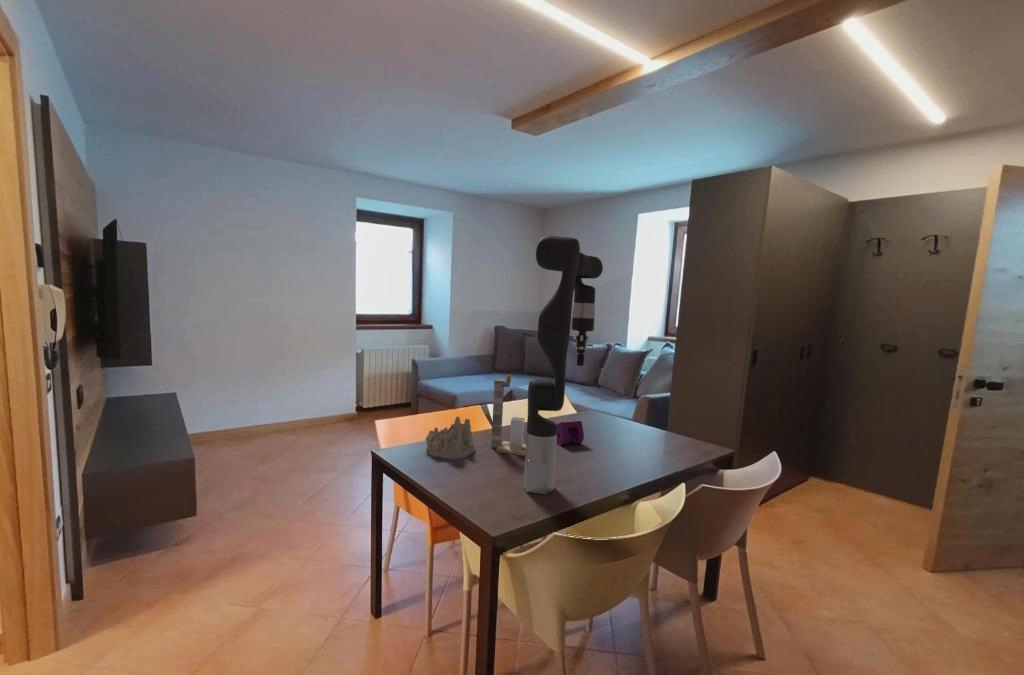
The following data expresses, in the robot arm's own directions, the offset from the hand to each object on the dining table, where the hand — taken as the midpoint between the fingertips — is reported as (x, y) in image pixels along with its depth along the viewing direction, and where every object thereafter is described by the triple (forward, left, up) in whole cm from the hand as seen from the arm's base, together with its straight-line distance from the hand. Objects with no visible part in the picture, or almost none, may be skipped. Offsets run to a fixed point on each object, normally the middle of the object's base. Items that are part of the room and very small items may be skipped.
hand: (580, 364), depth 150 cm
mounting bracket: (+28, +9, -37) cm, 47 cm away
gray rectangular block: (+9, +23, -35) cm, 43 cm away
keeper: (+9, +26, -36) cm, 45 cm away
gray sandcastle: (-2, +45, -36) cm, 58 cm away
